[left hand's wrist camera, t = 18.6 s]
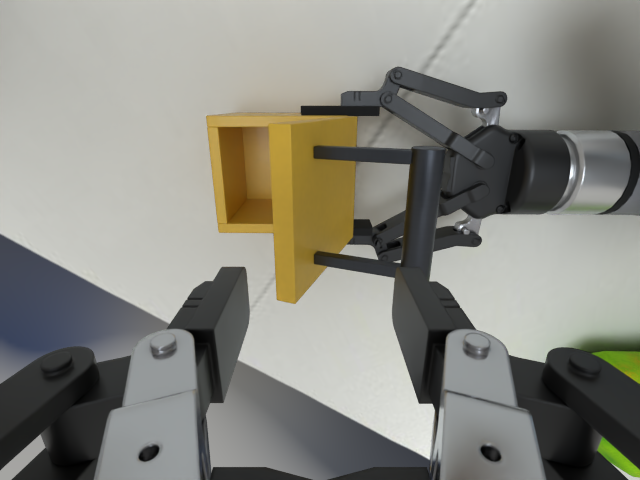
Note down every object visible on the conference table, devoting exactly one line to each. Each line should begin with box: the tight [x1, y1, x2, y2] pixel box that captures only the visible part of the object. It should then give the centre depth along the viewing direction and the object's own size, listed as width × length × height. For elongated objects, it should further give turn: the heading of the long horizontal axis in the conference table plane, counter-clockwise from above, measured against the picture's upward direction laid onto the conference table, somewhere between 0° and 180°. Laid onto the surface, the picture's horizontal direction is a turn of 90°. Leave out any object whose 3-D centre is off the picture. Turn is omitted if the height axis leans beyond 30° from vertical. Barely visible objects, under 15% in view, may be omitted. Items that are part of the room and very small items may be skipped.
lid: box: [268, 116, 446, 304], centre depth 23 cm, size 12×10×8 cm
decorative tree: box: [591, 351, 640, 477], centre depth 45 cm, size 18×10×30 cm
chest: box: [206, 113, 347, 233], centre depth 34 cm, size 12×10×10 cm
